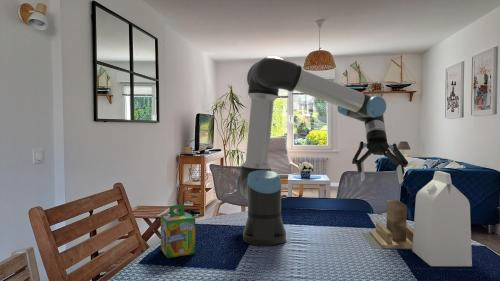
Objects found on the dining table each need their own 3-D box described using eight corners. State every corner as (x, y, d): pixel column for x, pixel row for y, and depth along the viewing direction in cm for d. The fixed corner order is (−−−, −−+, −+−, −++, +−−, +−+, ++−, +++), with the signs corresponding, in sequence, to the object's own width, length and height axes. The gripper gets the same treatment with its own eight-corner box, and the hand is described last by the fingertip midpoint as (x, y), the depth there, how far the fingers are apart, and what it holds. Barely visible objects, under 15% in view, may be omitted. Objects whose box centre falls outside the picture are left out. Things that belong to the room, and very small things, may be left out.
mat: (372, 249, 114) (372, 248, 114) (360, 233, 130) (360, 232, 130) (436, 250, 113) (436, 249, 113) (417, 234, 129) (417, 233, 129)
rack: (381, 247, 115) (381, 234, 114) (369, 233, 130) (369, 221, 129) (426, 248, 114) (426, 234, 113) (409, 234, 129) (409, 221, 128)
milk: (472, 267, 100) (474, 175, 99) (430, 267, 100) (432, 175, 99) (449, 251, 112) (451, 169, 111) (412, 251, 112) (413, 169, 111)
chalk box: (167, 259, 107) (166, 210, 106) (160, 249, 115) (159, 204, 114) (196, 254, 111) (196, 207, 111) (187, 245, 119) (187, 201, 119)
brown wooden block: (393, 241, 118) (394, 205, 117) (386, 233, 126) (386, 200, 125) (406, 241, 118) (406, 205, 117) (398, 234, 125) (398, 200, 125)
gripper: (405, 141, 144) (414, 188, 132) (342, 138, 146) (345, 183, 134) (411, 130, 138) (421, 178, 126) (345, 126, 140) (349, 173, 128)
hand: (382, 180), depth 130 cm, fingers open, 13 cm apart
